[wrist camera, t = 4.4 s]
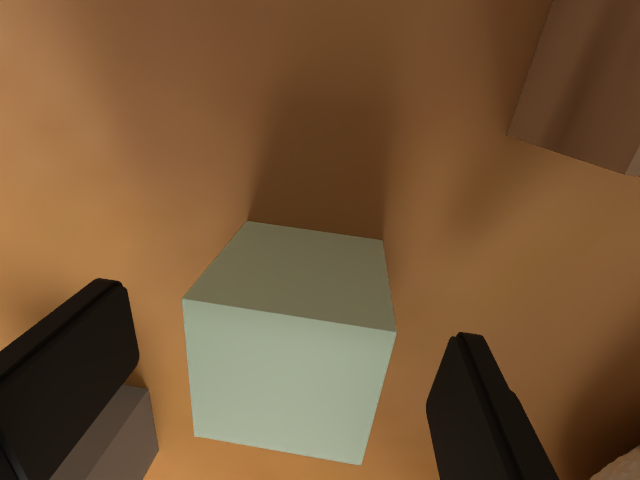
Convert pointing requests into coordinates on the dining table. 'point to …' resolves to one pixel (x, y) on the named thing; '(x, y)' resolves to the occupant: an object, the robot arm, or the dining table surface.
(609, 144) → the walnut cube
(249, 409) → the sage green cube
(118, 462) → the gray cube
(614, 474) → the cereal bowl
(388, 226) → the dining table surface
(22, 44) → the dining table surface
